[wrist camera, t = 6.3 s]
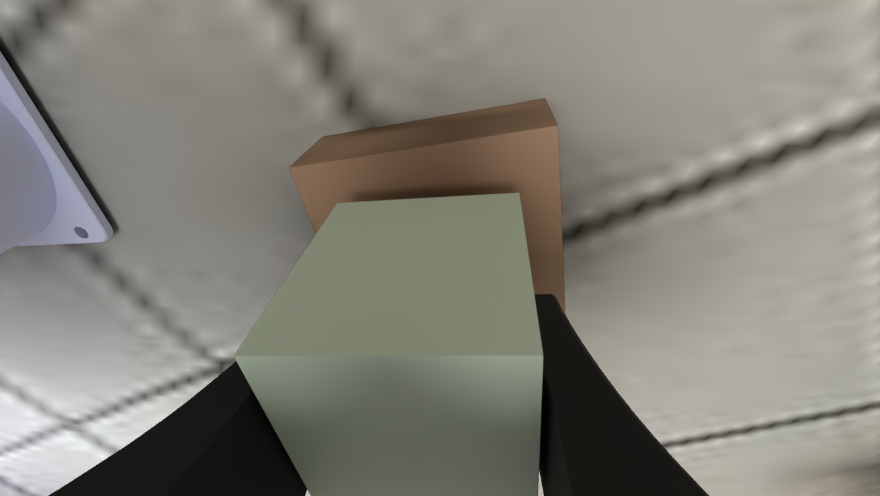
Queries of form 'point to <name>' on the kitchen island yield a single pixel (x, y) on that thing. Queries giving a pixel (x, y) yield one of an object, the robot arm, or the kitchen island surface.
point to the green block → (406, 352)
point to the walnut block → (450, 172)
